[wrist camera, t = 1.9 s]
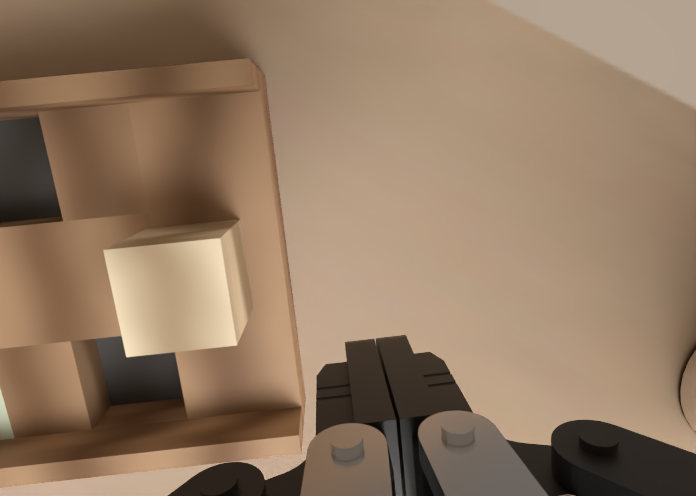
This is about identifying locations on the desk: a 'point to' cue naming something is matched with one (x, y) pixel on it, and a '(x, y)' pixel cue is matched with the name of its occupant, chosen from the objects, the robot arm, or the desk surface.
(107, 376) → the tray
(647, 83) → the desk surface
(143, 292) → the birch block
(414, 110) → the desk surface
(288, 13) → the desk surface
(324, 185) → the desk surface
